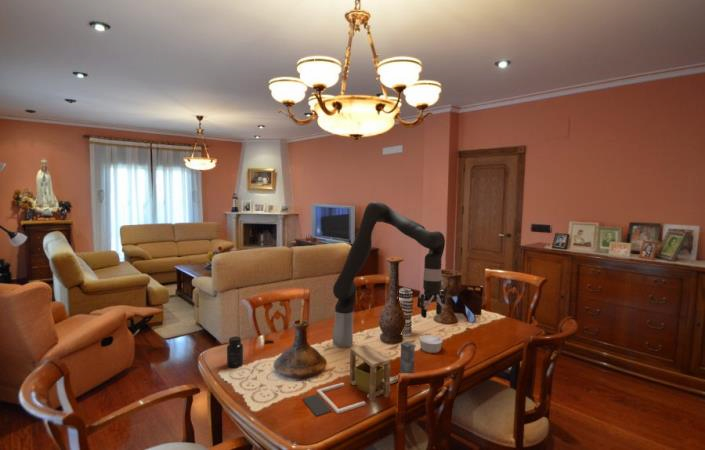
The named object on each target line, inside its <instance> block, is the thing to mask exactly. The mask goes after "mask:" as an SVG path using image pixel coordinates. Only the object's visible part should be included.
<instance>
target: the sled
mask: <svg viewBox="0 0 705 450" xmlns="http://www.w3.org/2000/svg"><path fill="white" fill-rule="evenodd" d="M415 346H416V345H415V343H412V342H410V341H405V342H401V343H400V359H399V360H400V364H399V374H400V373H414V372H415V354H416V353H415V352H416V351H415V349H416V347H415ZM399 374H397V375H395V376H390V385H391V384H394V383H398V382H397V379H398V375H399ZM414 374H415V373H414ZM352 386H357V383H356V380H355V381H352ZM379 387H381V388H382V389H380V390H376V394H375V397H376V396H380V395H383V388H384V378H383V379H382V382H381V384H380V386H379ZM389 393H391V387H390V388H389ZM366 394H367V395H366V396H367V397H366V398H368V399H369V393H366Z"/></svg>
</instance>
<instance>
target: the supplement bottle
mask: <svg viewBox="0 0 705 450" xmlns="http://www.w3.org/2000/svg"><path fill="white" fill-rule="evenodd" d="M241 340H242V338H241V337H240V336H231V337H230V338H229V339H228V344H227V345H226V366H227V367H228V368H231V369H236V368H240V367H242V366H243V364H244V344H243V343H242V341H241Z"/></svg>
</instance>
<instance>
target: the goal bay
mask: <svg viewBox="0 0 705 450" xmlns="http://www.w3.org/2000/svg"><path fill="white" fill-rule="evenodd" d="M344 386H345V383H344V382H339V383H337V384H332V385H329V386H326V387H322V388H318V389H316V393H317V395H318V396H319V397H320V398H321V399H322V400H323V401H324V402H325V403H326V404H327V405H328V407H329V406H330V407H329V408H330V409H331V410H332V411H334V412H335V413H336V414H337V415H338V414H342V413H344V412H347V411H350V410H353V409H357V408H361V407H363V406H365V405H366V401H364V400H362V401H359V402H356V403H354V404H351V405H347V406H344V407H341V408H338V406H337V405H336V404H334V402H333V401H331V399H330V398H329V397H328V396H327V395H326V394H325V393H324V392H327V391H330V390H335V389H338V388H341V387H344Z"/></svg>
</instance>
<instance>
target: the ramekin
mask: <svg viewBox="0 0 705 450" xmlns="http://www.w3.org/2000/svg"><path fill="white" fill-rule="evenodd" d="M419 344H420V345H419V346H420V349H421V350H422V351H423V352H425V353H429V354H436V353H439V352H441V348H442V345H443V338H441V337H440V336H438V335H433V334H432V335H431V334H424V335H421V336H419Z"/></svg>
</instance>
